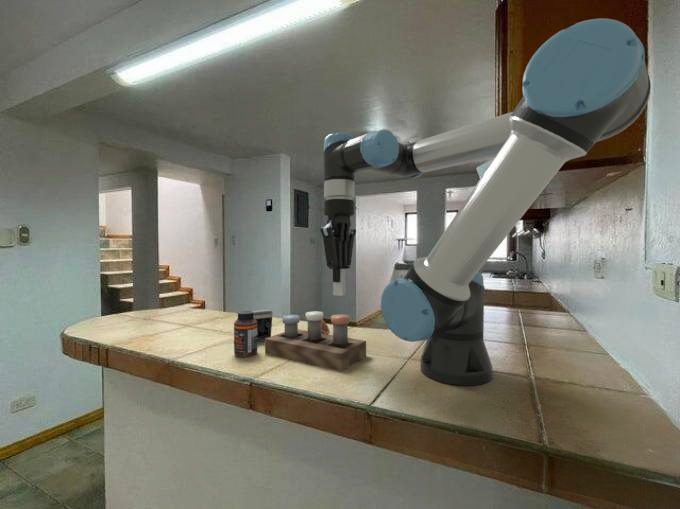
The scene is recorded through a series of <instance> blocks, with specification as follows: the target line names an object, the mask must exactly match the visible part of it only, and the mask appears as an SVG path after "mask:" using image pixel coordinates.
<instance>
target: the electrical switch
mask: <svg viewBox="0 0 680 509" xmlns="http://www.w3.org/2000/svg"><path fill="white" fill-rule="evenodd" d="M252 311H253V315H254V316H253V317H254V319H256V321H257V342H262V341H265V338H268V337H271V336H272V325H273V311H272V310H271V309H262V310H260V309H259V310H252Z"/></svg>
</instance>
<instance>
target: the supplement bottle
mask: <svg viewBox="0 0 680 509" xmlns="http://www.w3.org/2000/svg"><path fill="white" fill-rule="evenodd" d="M253 311H254V310H240V311H238V312H237V319H236V320H235V321H234V322H233V351H234V354H233V355H235V356H236V357H238V358H249V357H253V356H255V355H256V354H257V353H258V341H257V321H256V319H254V317H253V316H254V315H253Z"/></svg>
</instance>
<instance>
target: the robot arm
mask: <svg viewBox="0 0 680 509" xmlns="http://www.w3.org/2000/svg"><path fill="white" fill-rule="evenodd" d="M645 54H646V53H645V47H644V45H643V43H642V42H641V39H640V38H639V37H638V36H637V35H636V33H635V32H634V31H633V29H632V28H631V27H630V26H629V25H627V24H625V23H623V22H622V21H619V20H617V19H611V18H603V17H602V18H600V17H599V18H593V19H587V20H583V21H580V22H575V24H573V25H571V26H569V27H567V28H564V29H562V30H559V31H558V32H557V33H555V34H554V35H552V36H551V37H549V39H547V40H546V41H545V42H544V43H543V44H541V45H540V47H539V48H538V49H537V50H536V51H535V52H534V54H533V55H532V56H531V58H530V60H529V61H528V63H527V65H526V67H525V70H524V72H523V76H522V98H521V99H520V101H519V102H518V103H517V105H516V107H515V108H514V110H513V111H510V112H507V113H504V114H501V115H498V116H497V115H496V116H495V117H491V118H488V119H485V120H481V121H477V122H475V123H472V124H468V125H465V126H462V127H459V128H455V129H452V130H449V131H446V132H442V133H439V134H436V135H432V136H429V137H426V138H422V139H420V140H417V141H414V142H413V141H412V142H410V143H406V144H405V143H404V144H403V143H401V142H399V141H398V138H397V137H396V136H395V135H393V134H394V133H393V132H392V131H391V130H389V129H384V128H383V129H380V130H374V131H370V132H368V133H366V134H363V135H360V136H357V137H354V136H353V135H352V134H350V133H347V132H337V133H330V134H328V135H327V136H326V137H325V138H324V143H323V152H322V153H323V154H322V155H323V197H324V199H325V200H324V201H323V214H324V216H325V217H327V220H326V225H325V226H321V227H320V233H321V236H322V240H323V247H324V254H325V261H326V266H327V267H328V269H329V270H332V281H333V282H332V295H333V296H339V297H343V296H347V295H346V284H347V283H346V281H347V280H346V279H347V278H346V276H347V275H346V274H347V273H346V272H347V271H346V270H348V269H350V267H351V264H352V256H353V249H354V241H355V237H356V233H357V229H356V228H352V222H351V217H353V216H354V215H355V201H354V200H353V199H355V198H356V197H355V196H356V195H355V173H358V172H359V173H360V172H364V171H375V172H380V173H383V174H388V175H391V176H395V177H399V178H402V179H405V180H407V179H410V180H414V179H415V180H416V179H419V178H420V177H421V176H423V175H424V173H427V172H432V171H438V170H441V169H445V168H450V167H455V166H460V165H466V164H468V163H469V164H470V163H474V162H478V161H483V160H488V159H492V158H493V159H492V161H491V162H490V164H489V166H488V167H487V168H486V170H485V171H484V173H483V174H482V176H481V178H480V179H479V180H478V182H477V183H476V185H475V186H474V187H473V189H472V191H471V192H470V194H469V195H468V196H467V198H466V200H465V201H464V203H463V204H462V205H461V207H460V208H459V210H458V211H457V213H456V214H455V216H453V218H452V219H451V221H450V223H449V225H448V226H447V227H446V229H445V230H444V232H443V233H442V234H441V236H440V237H439V239H438V240H437V242H436V244H435V245H434V247H433V248H432V249H431V251H430V252H429V254H428V255H427V256H425V257H419V258H418V257H417V258H416V259H415V260H414V262H413V263H412V264H411V266H410V267H409V269H408V270H407V272H406V273H405V275H404V276H403V277H402V278H396V279H394V280H393V281H391V282H389V283H388V284H387V285H386V286H385V287H384V289H383V291H382V294H381V297H380V310H382V315H381V316H382V318H383V320H384V323H385V325H386V326H387V328H388V329H389V331H390V332H392V334H393V335H395V336H396V337H397V338H399V339H400V340H403V341H406V342H413V343H414V342H421V341H426V342H425V345H424V347H423V351H422V354H421V357H420V371H421V372H422V374H423V375H425V376H426V377H427V378H430V379H432V380H435V381H437V382H441V383H445V384H450V385H455V386H456V385H457V386H478V385H482V384H486V383H489V382H490V381H492V379H493V365H492V362H491V359H490V356H489V353H488V350H487V346H486V344H485V341H484V340H485V339H484V329H485V328H484V327H485V326H484V325H485V324H484V322H485V321H484V320H485V319H484V317H485V316H484V315H485V314H484V313H485V310H484V309H485V289H486V286H485V282H484V276H483V274H482V273H481V272H480V270H481V269H482V268H483V267H484V265H485V264H486V263H487V262H488V260H490V258H491V257H492V256H493V254H494V253H495V251H496V250H497V249H498V248H499V246H500V245H501V244H502V243H503V241H504V240H505V239H506V238H507V237H508V235H509V234H510V232H511V231H512V230H513V229H514V227H515V226H516V225H517V223H518V222H519V221H520V219H522V218H523V216H524V215H525V213H526V212H527V211H528V210H529V208H531V206H532V205H533V203H534V202H535V201H536V200H537V198H538V197H539V196H540V195H541V193H542V192H543V190H545V188H546V187H547V186H548V185H549V183H550V182H551V181H552V179H554V177H555V176H556V175H557V173H558V172H559V170H561V168H562V166H564V164H565V163H566V162H568V161H570V160H574V159H577V158H580V157H585V156H586V155H587V154H588V153H589V151H590V150H591V149H592V148H593V147H594V145H595V144H596V143H597V142H601V141H604V140H607V139H610V138H612V137H614V136H615V135H618V134H620V133H622V132H623V131H624V130H626V129H627V128H628V127H630V126H632V124H633V123H635V121H636V120H637V119H638V118H639V117H640V116H641V114H642V113H643V111H644V110H645V108H646V107H647V105H648V102H649V99H650V95H651V86H652V85H651V78H650V76H649V73H648V69H647V66H646V65H647V64H646V61H645V59H646V56H645Z"/></svg>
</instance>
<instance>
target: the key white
mask: <svg viewBox="0 0 680 509" xmlns="http://www.w3.org/2000/svg"><path fill="white" fill-rule="evenodd" d="M322 319H323V320H324V312H323V311H315V310H314V311H307V312H305V321H307V331H308V339H311V340H318V339H321V338H322V331H321V320H322Z"/></svg>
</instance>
